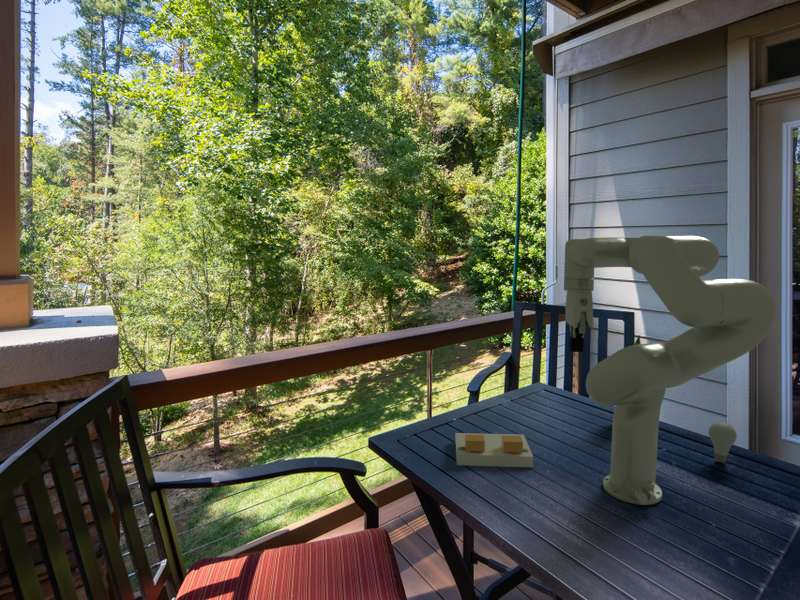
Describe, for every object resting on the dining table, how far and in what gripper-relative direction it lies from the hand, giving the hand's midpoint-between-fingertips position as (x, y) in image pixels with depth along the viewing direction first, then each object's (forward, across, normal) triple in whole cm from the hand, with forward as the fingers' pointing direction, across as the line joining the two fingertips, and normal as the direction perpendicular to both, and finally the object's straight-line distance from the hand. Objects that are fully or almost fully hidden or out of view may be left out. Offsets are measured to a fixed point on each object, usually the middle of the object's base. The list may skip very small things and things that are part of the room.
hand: (576, 351), depth 125 cm
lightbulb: (+29, -4, -37) cm, 47 cm away
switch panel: (+29, -3, +23) cm, 37 cm away
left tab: (+26, -7, +28) cm, 39 cm away
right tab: (+26, -7, +18) cm, 32 cm away
